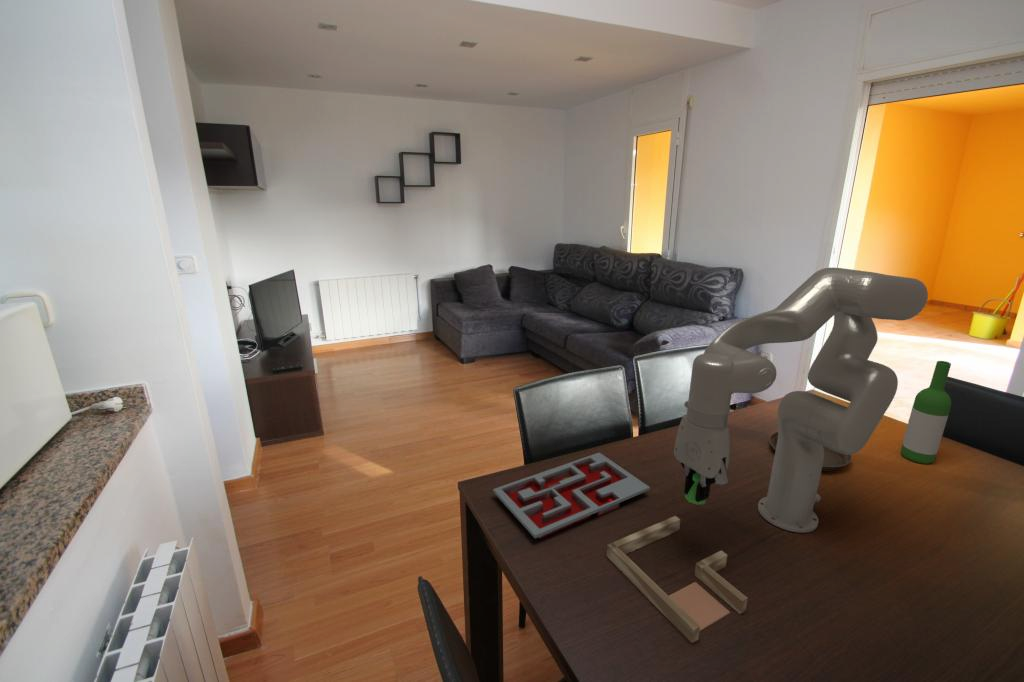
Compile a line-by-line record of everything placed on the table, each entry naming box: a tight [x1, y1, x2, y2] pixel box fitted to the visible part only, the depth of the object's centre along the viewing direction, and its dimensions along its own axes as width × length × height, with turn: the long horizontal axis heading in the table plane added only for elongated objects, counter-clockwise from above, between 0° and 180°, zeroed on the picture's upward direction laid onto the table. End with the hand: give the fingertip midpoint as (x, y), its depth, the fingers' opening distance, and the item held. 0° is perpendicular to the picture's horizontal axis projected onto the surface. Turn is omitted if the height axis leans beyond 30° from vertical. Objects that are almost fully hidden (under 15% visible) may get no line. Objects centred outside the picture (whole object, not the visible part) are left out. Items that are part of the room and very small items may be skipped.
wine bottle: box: [900, 360, 952, 465], centre depth 131 cm, size 8×8×30 cm
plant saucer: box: [768, 431, 853, 472], centre depth 137 cm, size 21×21×3 cm
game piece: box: [684, 472, 707, 506], centre depth 96 cm, size 4×4×6 cm
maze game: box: [492, 452, 651, 540], centre depth 118 cm, size 35×20×3 cm, turn 120°
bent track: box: [606, 515, 749, 644], centre depth 93 cm, size 20×23×3 cm
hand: (696, 495), depth 96 cm, fingers closed on game piece, 2 cm apart
